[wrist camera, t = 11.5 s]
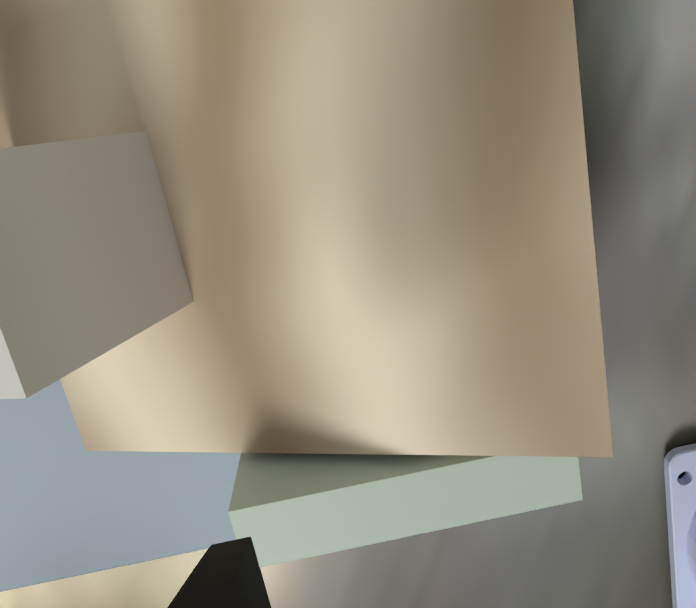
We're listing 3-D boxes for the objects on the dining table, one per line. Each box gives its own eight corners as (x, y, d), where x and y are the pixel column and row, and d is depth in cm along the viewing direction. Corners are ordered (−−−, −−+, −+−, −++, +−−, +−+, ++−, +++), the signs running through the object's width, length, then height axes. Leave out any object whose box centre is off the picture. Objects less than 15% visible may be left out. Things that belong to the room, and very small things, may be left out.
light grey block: (193, 301, 15) (26, 398, 10) (67, 313, 16) (-126, 402, 12) (146, 131, 14) (-64, 156, 9) (16, 160, 15) (-219, 195, 11)
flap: (559, -152, 13) (551, -249, 9) (605, 368, 16) (613, 457, 12) (62, 18, 18) (-74, 2, 14) (172, 385, 21) (85, 450, 18)
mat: (270, 527, 21) (270, 535, 20) (-33, 591, 21) (-40, 600, 20) (62, -239, 15) (55, -249, 14) (-365, -152, 15) (-383, -160, 14)
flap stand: (423, -184, 16) (490, -372, 10) (505, 408, 20) (584, 517, 14) (114, -121, 16) (-1, -273, 10) (267, 457, 20) (250, 588, 14)
